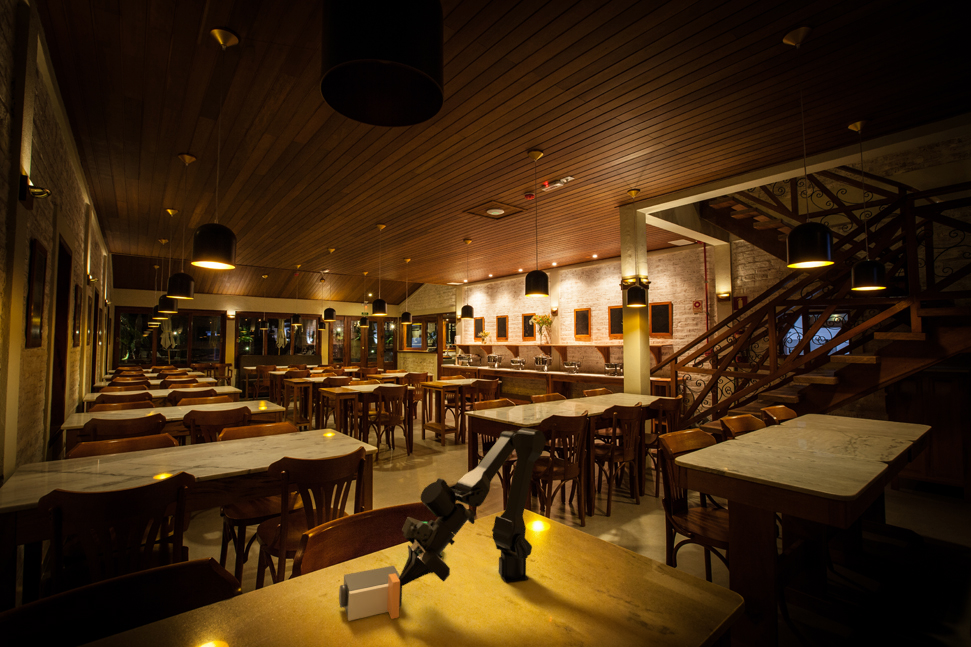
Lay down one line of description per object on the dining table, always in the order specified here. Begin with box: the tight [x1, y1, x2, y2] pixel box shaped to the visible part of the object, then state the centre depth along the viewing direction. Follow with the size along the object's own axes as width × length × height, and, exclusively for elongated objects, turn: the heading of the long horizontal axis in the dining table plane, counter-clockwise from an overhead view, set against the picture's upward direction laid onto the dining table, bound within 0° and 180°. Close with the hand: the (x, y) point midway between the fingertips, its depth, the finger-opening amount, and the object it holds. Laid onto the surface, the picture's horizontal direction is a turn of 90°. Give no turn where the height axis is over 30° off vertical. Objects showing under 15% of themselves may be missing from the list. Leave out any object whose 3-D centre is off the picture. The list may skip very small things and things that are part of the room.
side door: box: [347, 573, 400, 621], centre depth 95 cm, size 10×5×8 cm, turn 116°
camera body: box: [338, 565, 403, 619], centre depth 101 cm, size 13×8×6 cm, turn 116°
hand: (398, 584), depth 97 cm, fingers closed, pressing on side door
